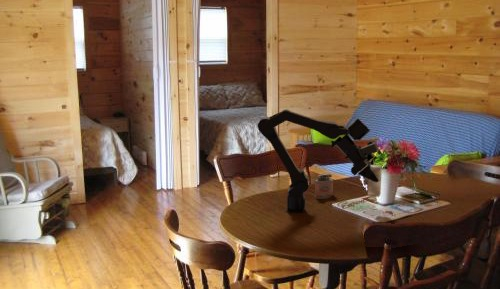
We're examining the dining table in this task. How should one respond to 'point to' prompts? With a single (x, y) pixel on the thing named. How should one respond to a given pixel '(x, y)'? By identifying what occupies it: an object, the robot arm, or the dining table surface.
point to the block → (374, 187)
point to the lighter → (323, 186)
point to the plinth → (373, 212)
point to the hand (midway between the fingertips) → (378, 180)
